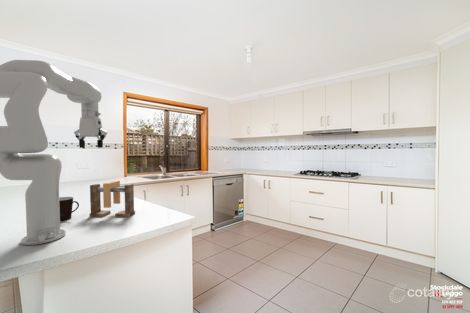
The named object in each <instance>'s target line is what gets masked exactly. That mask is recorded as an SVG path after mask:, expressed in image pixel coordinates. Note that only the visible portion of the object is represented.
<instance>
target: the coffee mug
mask: <svg viewBox="0 0 470 313" xmlns="http://www.w3.org/2000/svg"><path fill="white" fill-rule="evenodd" d="M74 203H76V208H75V209H73V206H74ZM59 206H60V222H65V221H70V220H71V219H72V213H74V212H76V211H77V210H78V209H79V207H80V204H79V202H78V201H76V200H74V197H73V196H61V197H60V196H59Z"/></svg>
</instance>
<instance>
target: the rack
mask: <svg viewBox="0 0 470 313" xmlns="http://www.w3.org/2000/svg"><path fill="white" fill-rule="evenodd" d="M113 192H120V193H124V210H119V211H118V212H116V213H115V214H114V217H115V218H130V217H131V216H134V215H135V214H136V210H135V192H134V183H128V184H124V186H123V187H121V186H120V187H115V188H112V189H111V193H113ZM101 193H103V186H101V184H99V183H95V184H90V185H89V195H90V196H89V197H90V199H89V201H90V203H89V204H90V213H89V216H88V217H90V218H91V217H92V218H93V217H94V218H104V217H106V216H108V215H110V214H111V210H108V209H107V210H101V208H102V206H101V204H102V203H101Z"/></svg>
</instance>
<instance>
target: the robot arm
mask: <svg viewBox="0 0 470 313" xmlns="http://www.w3.org/2000/svg"><path fill="white" fill-rule="evenodd" d="M48 89H50V90H51V91H53V92H55V93H57V94H60V95H65V96H66V98H67V99H68V100H69V101H71V102H73V103H76V104H80V106H81V109H80V110H81V111H80V112H81V117H80V119H79V125H78V126H79V127H78V129H77V130H75V131H73V133H74V136H75V138H77V140H78V145H79V148H81V149H82V148H84V149H85V148H86V141H85V138H87V137H88V138H89V137H90V138H91V137H92V138H97V141H96V143H97V147H96V148H98V149H99V148H100V149H103V146H104V143H103V142H104V140H105V138H106V137H107V134H108V131H107V130H104V129H103V124H102V119H101V117H100V116H101V112H99V102H101V100H102V98H103V96H102V92H101V91H100V89H99V88H98V87H97V86H96V85H94V84H92V83H90V82H88V81H87V80H83V79H79V78H77V77H73V76H70V75H68V74H66V73H64V72H63V71H61V70H59V69H58V68H56V67H55V66H53V65H52V64H50V63H48V62H46V61H43V60H36V59H35V60H33V59H14V60H13V59H12V60H10V61H7V62H4V63H1V64H0V99H8V100H7V102H6V103H5V105H4V108H3V115H4V119H5V122H6V125H0V174H1V176H2V177H3V178H4V179H6V180H10V181H31V182H30V184H29V185H28V186H27V188H26V190H25V194H24V195H25V196H24V197H25V200H24V201H25V218H26V219H25V220H26V235H25V236H24V237H23V238H21V240H20V243H21V244H22V245H23V246H24V245H25V246H36V245H42V244H47V243H52V242H54V241H57V240H60V239H61V238H63V237H64V236H65V235H66V230H65V229H61V221H60V206H59V197H60V179H61V172H62V168H63V166H62V165H63V164H62V161H61V159H60V158H59V157H58V156H56V155H54V154H53V155H52V154H48V153H47V154H45V153H42V152H44V151H45V150H46V151H47V149H48V146H49V142H48V141H49V140H48V136H47V135H46V130H45V127H44V126H43V123H42V120H41V117H40V110H39V109H40V105H41V102H42V100H43V99H44V97H45V95H46V93H47V91H48Z"/></svg>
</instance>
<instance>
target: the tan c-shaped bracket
mask: <svg viewBox="0 0 470 313" xmlns="http://www.w3.org/2000/svg"><path fill="white" fill-rule="evenodd" d="M102 187H103V192H102V195H103V197H102V199H103V200H102V201H103V202H102V203H103V208H104V209H105V208H106V209H108V208H109V209H110V208H112V202H113V204H114V205H115V204H116V205H119V204H121V192H111V189H112V188H115V187H121V181H120V180H112V181H108V182H103V183H102ZM112 194H113V195H112ZM111 196H113V197H111ZM112 198H113V199H112ZM112 200H113V201H112Z"/></svg>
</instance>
